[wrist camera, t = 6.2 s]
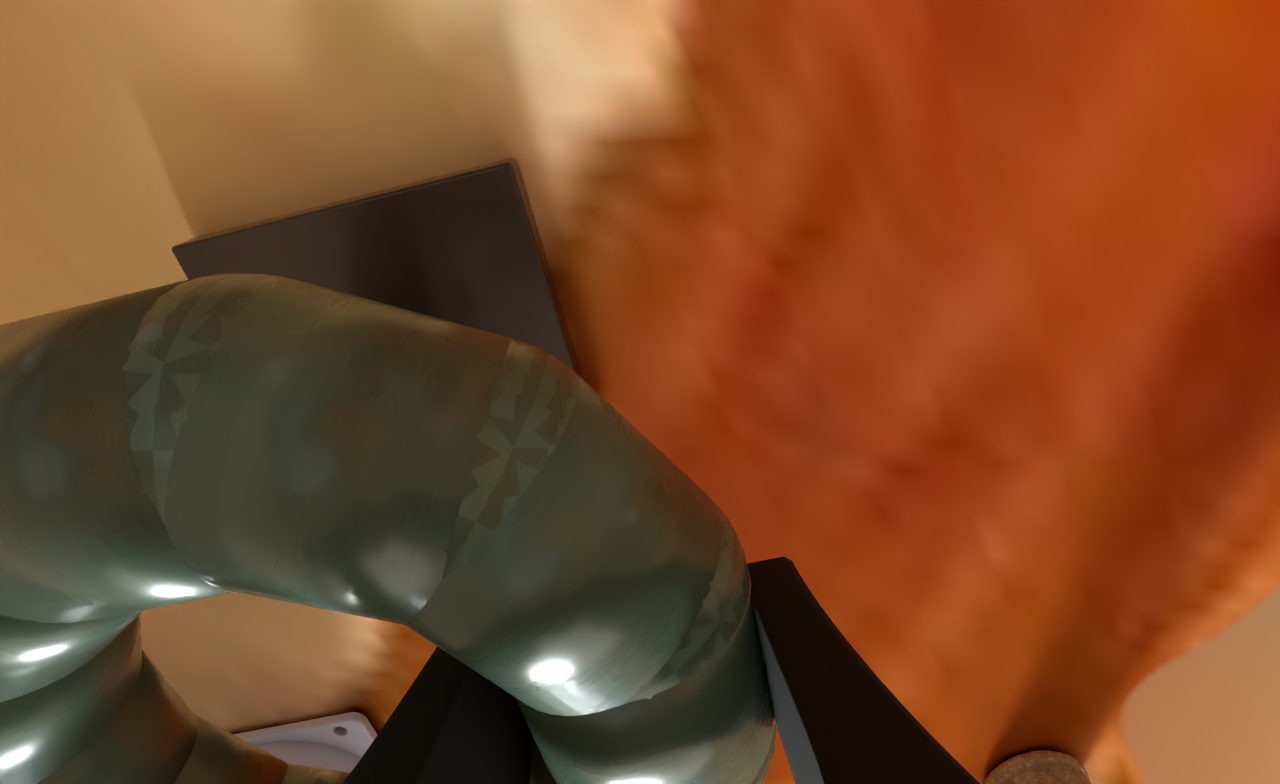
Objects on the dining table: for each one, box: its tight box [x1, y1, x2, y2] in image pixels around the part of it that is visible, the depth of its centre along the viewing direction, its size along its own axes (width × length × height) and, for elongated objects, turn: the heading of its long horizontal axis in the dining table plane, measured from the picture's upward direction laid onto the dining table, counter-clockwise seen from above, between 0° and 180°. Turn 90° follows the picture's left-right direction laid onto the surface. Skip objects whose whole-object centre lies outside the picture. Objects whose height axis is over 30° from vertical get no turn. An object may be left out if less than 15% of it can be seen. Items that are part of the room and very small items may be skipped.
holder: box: [172, 158, 583, 379], centre depth 16 cm, size 9×9×6 cm
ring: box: [0, 273, 776, 784], centre depth 10 cm, size 13×13×4 cm
